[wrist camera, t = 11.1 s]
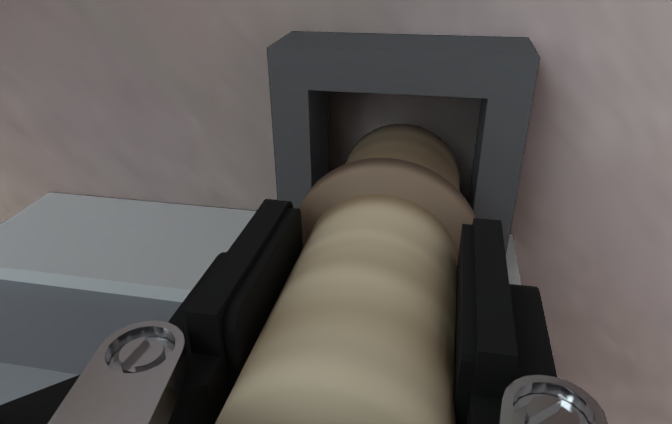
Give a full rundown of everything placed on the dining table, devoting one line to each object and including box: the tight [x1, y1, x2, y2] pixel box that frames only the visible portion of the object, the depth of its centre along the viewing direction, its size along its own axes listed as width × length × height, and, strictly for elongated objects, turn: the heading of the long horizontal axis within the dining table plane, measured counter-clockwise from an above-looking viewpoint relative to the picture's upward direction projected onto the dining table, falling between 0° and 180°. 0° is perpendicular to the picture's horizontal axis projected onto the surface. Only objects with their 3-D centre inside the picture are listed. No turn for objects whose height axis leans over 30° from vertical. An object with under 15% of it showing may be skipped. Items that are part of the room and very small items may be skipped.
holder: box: [267, 31, 540, 254], centre depth 16 cm, size 7×7×2 cm
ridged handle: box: [215, 124, 476, 424], centre depth 12 cm, size 4×4×10 cm
